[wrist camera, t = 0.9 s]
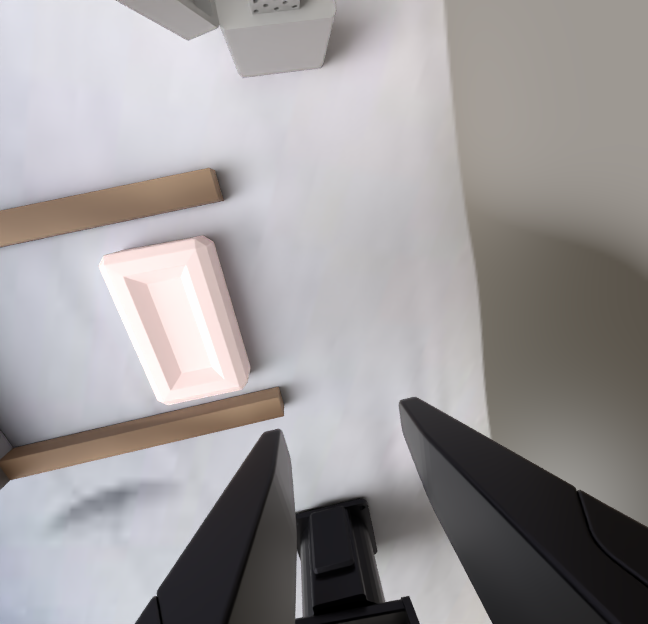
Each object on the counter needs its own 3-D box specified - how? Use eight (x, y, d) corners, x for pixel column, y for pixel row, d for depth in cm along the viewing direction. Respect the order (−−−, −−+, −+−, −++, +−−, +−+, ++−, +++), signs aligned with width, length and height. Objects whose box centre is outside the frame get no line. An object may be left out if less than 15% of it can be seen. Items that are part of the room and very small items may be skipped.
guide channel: (284, 404, 21) (283, 435, 18) (2, 470, 20) (-43, 512, 18) (215, 170, 16) (198, 163, 13) (-167, 248, 15) (-271, 259, 12)
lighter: (318, 23, 14) (351, -180, 7) (324, 67, 15) (359, -73, 7) (165, 40, 14) (18, -153, 6) (177, 86, 14) (55, -42, 7)
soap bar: (172, 387, 20) (157, 410, 18) (116, 251, 17) (89, 258, 15) (253, 370, 20) (248, 391, 18) (212, 233, 17) (201, 237, 15)
